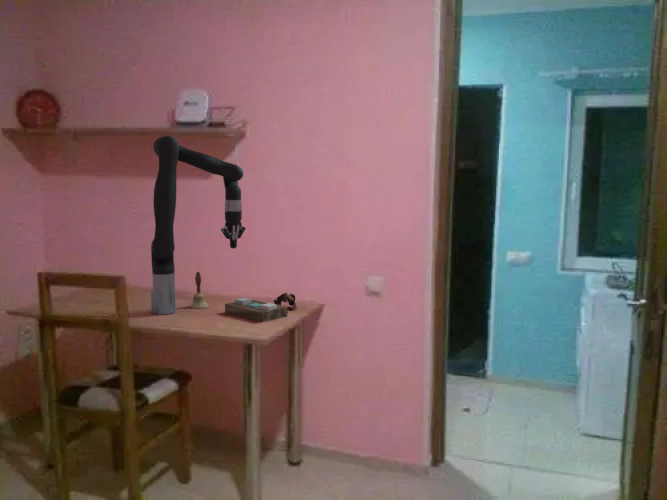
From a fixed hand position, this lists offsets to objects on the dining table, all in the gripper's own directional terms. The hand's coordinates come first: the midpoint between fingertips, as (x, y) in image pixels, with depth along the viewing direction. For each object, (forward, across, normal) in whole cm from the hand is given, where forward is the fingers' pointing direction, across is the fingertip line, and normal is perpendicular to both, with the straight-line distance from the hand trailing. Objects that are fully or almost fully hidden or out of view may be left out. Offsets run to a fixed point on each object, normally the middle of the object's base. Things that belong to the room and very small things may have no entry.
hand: (233, 248), depth 278 cm
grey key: (+23, +6, +13) cm, 27 cm away
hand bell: (+27, +13, -9) cm, 31 cm away
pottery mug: (+27, -12, +22) cm, 37 cm away
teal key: (+24, +5, +21) cm, 33 cm away
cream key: (+23, +5, +29) cm, 38 cm away
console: (+26, +5, +21) cm, 34 cm away
